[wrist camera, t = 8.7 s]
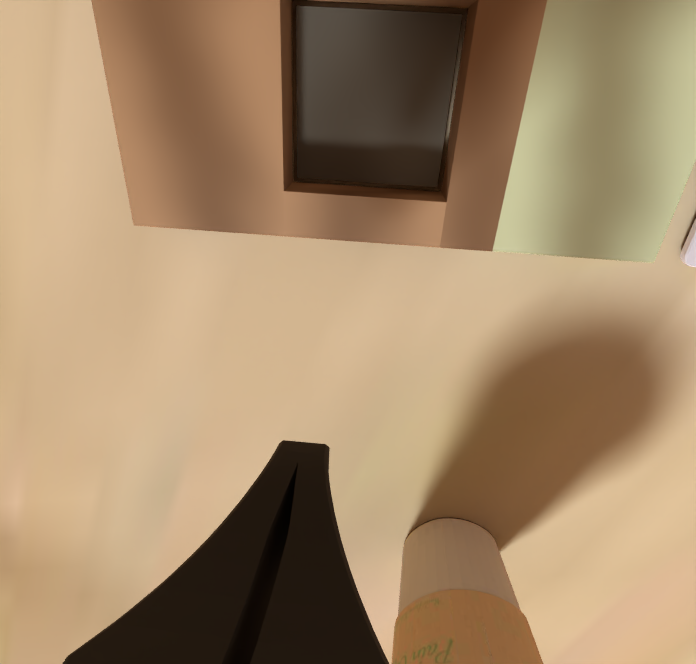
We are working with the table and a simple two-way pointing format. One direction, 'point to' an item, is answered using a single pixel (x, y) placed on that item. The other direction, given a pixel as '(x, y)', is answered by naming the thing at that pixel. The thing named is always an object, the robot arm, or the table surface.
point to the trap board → (408, 120)
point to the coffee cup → (458, 600)
